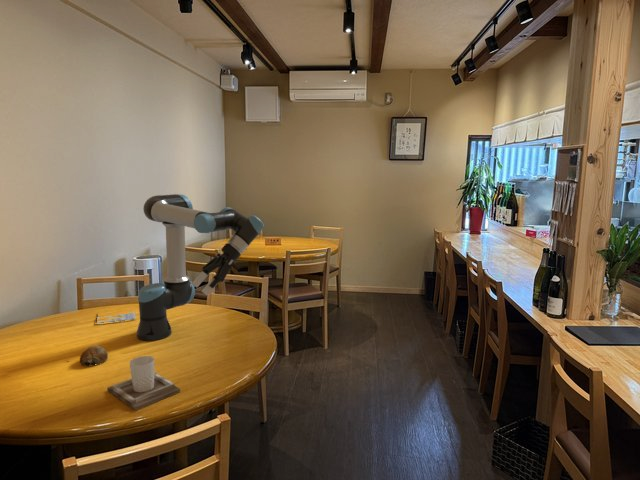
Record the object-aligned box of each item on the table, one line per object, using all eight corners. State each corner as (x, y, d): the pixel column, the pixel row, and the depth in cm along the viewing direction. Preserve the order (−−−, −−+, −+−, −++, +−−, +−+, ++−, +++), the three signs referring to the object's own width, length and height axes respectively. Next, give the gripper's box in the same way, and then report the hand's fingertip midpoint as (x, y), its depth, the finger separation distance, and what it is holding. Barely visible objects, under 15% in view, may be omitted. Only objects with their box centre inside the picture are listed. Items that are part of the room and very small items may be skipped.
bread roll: (110, 368, 180) (115, 348, 182) (91, 367, 170) (97, 346, 172) (91, 365, 183) (97, 345, 185) (71, 364, 173) (77, 343, 176)
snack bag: (94, 326, 219) (94, 322, 218) (97, 314, 237) (97, 310, 237) (136, 321, 226) (135, 317, 226) (135, 310, 244) (135, 306, 244)
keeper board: (107, 390, 154) (107, 384, 153) (150, 374, 166) (150, 368, 165) (135, 410, 141) (135, 403, 141) (180, 392, 153) (179, 385, 153)
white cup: (147, 394, 149) (145, 366, 147) (126, 392, 150) (124, 364, 149) (160, 383, 156) (158, 356, 155) (140, 381, 158) (138, 355, 156)
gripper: (252, 259, 170) (216, 302, 164) (230, 249, 191) (197, 287, 186) (239, 246, 166) (201, 291, 161) (217, 238, 187) (183, 277, 182)
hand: (199, 289), depth 173 cm, fingers open, 13 cm apart
